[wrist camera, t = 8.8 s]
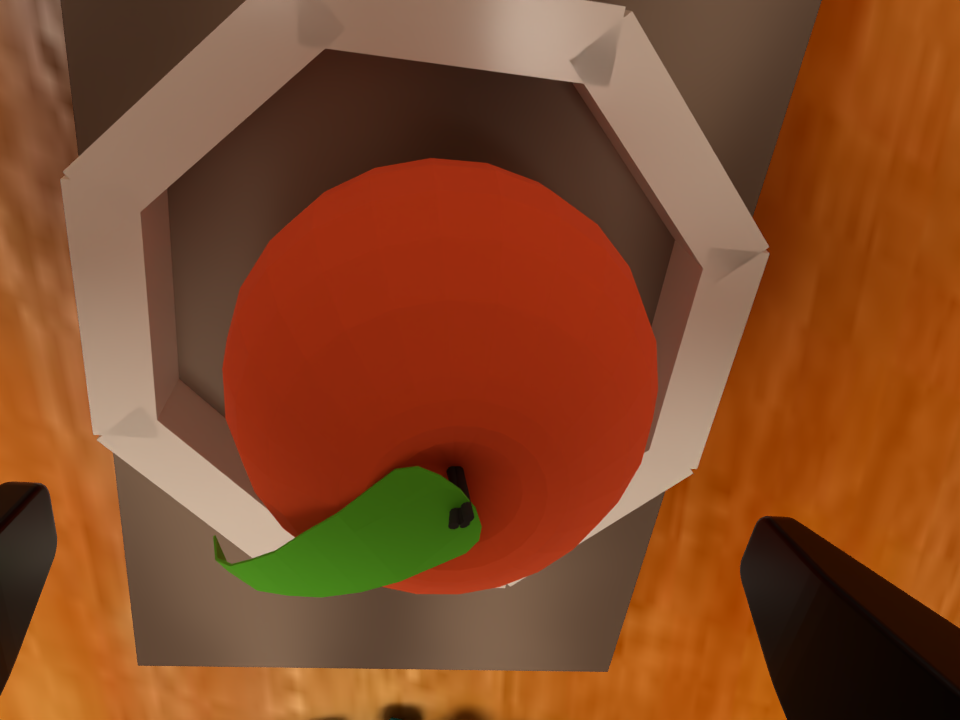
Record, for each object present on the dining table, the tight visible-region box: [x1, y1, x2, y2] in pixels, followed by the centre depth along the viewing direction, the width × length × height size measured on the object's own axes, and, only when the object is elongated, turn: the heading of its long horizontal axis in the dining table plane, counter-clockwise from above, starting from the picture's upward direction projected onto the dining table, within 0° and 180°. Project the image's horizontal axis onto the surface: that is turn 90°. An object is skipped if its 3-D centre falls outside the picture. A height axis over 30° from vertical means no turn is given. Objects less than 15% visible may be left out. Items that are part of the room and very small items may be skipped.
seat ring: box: [60, 0, 770, 588], centre depth 15 cm, size 12×12×2 cm
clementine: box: [213, 158, 658, 597], centre depth 12 cm, size 8×7×7 cm
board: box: [61, 0, 822, 672], centre depth 16 cm, size 13×22×1 cm, turn 172°
